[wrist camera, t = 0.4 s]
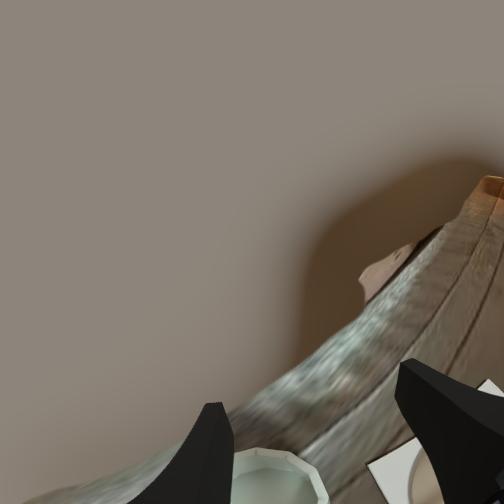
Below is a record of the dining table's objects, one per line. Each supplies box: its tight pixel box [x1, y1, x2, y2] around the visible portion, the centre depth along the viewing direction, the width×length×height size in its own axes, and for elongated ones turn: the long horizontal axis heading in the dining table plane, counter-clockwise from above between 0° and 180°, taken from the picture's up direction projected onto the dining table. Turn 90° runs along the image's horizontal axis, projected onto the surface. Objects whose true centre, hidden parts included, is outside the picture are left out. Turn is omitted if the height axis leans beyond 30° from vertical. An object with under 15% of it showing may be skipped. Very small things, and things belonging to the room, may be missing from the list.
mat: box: [367, 379, 504, 504], centre depth 12 cm, size 18×18×1 cm
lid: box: [411, 452, 444, 504], centre depth 10 cm, size 15×15×5 cm
